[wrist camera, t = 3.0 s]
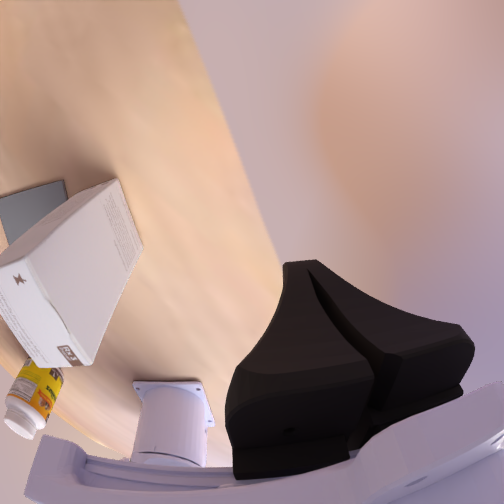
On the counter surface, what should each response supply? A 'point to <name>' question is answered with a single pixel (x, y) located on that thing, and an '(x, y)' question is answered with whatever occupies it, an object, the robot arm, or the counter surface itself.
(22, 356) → the counter surface
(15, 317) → the skincare box
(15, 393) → the supplement bottle
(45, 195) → the mat
